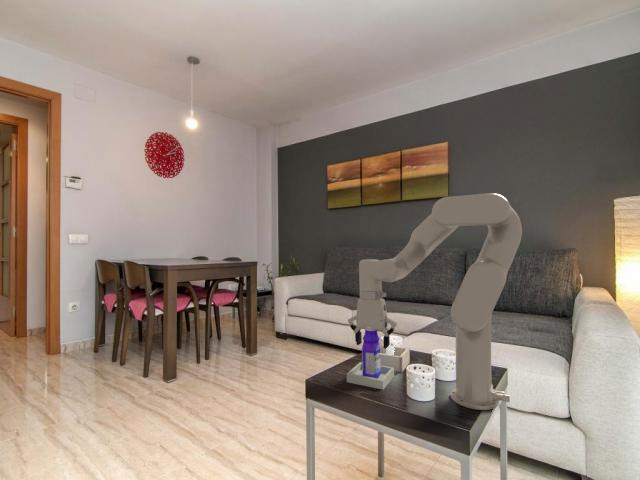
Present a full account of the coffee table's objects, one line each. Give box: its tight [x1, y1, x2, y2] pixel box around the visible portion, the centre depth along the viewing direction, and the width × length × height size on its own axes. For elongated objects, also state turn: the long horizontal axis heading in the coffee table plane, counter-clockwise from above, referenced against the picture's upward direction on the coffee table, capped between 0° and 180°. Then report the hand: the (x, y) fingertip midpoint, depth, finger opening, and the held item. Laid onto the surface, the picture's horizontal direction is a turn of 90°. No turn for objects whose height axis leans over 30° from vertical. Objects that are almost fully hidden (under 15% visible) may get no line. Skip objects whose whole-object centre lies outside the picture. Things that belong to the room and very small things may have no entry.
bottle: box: [361, 327, 381, 378], centre depth 115 cm, size 7×6×17 cm
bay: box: [379, 343, 411, 374], centre depth 128 cm, size 12×12×6 cm
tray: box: [346, 361, 395, 390], centre depth 115 cm, size 13×13×3 cm
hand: (372, 345), depth 115 cm, fingers open, 9 cm apart
